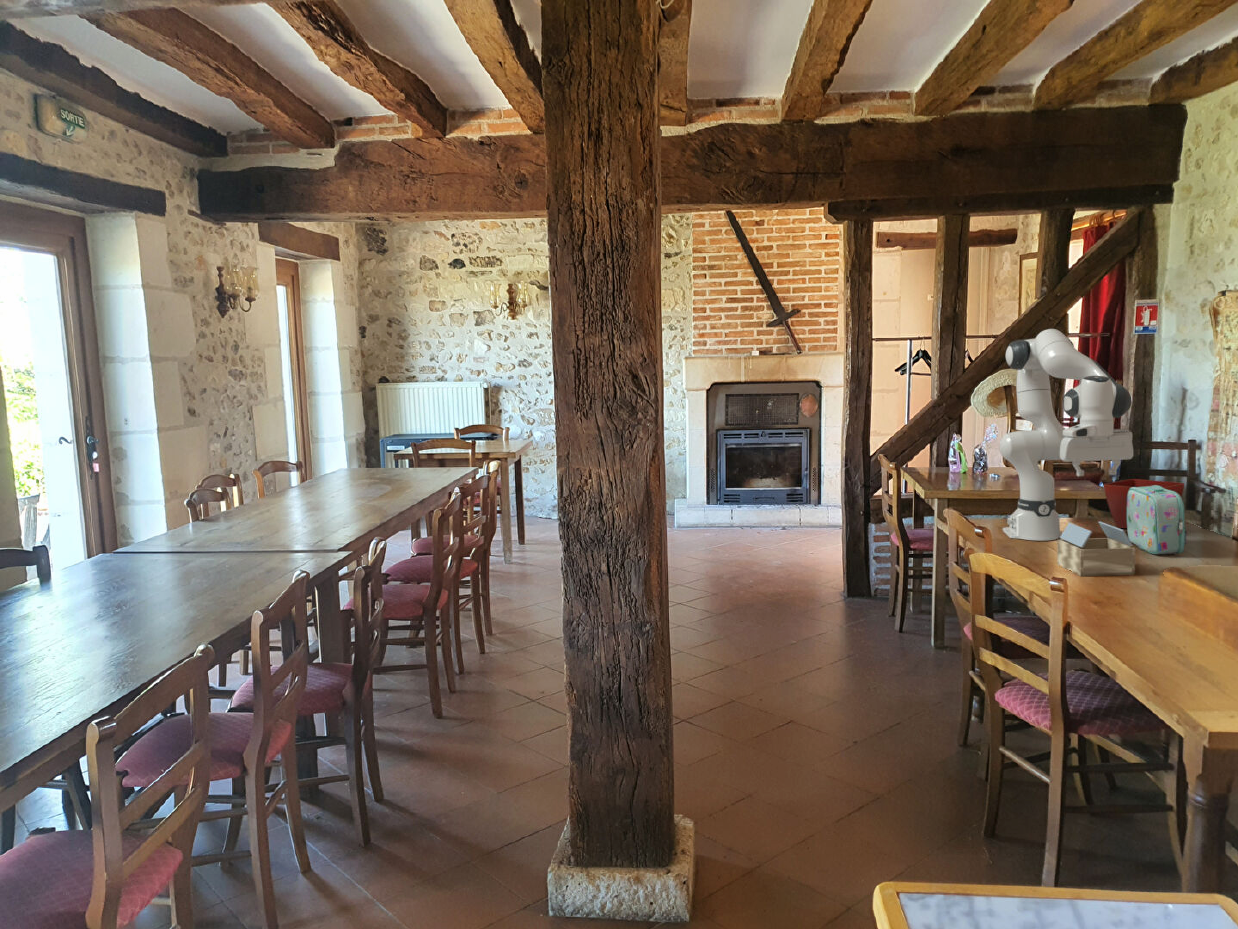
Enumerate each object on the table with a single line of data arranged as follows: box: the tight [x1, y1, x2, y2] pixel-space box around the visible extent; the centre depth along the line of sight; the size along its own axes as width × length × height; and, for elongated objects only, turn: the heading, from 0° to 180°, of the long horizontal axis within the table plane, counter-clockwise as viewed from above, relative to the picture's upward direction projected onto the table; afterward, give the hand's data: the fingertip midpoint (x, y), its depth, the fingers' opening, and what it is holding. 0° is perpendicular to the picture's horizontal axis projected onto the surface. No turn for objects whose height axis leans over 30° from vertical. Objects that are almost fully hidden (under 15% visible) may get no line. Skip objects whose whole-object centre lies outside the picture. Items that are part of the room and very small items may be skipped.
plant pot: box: [1103, 478, 1185, 529], centre depth 306 cm, size 19×19×17 cm
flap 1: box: [1059, 522, 1093, 548], centre depth 253 cm, size 14×1×6 cm, turn 177°
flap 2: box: [1097, 521, 1134, 547], centre depth 253 cm, size 14×1×6 cm
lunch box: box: [1126, 485, 1187, 555], centre depth 274 cm, size 27×10×21 cm, turn 168°
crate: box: [1056, 537, 1136, 577], centre depth 254 cm, size 15×16×8 cm
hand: (1096, 475), depth 251 cm, fingers open, 8 cm apart
